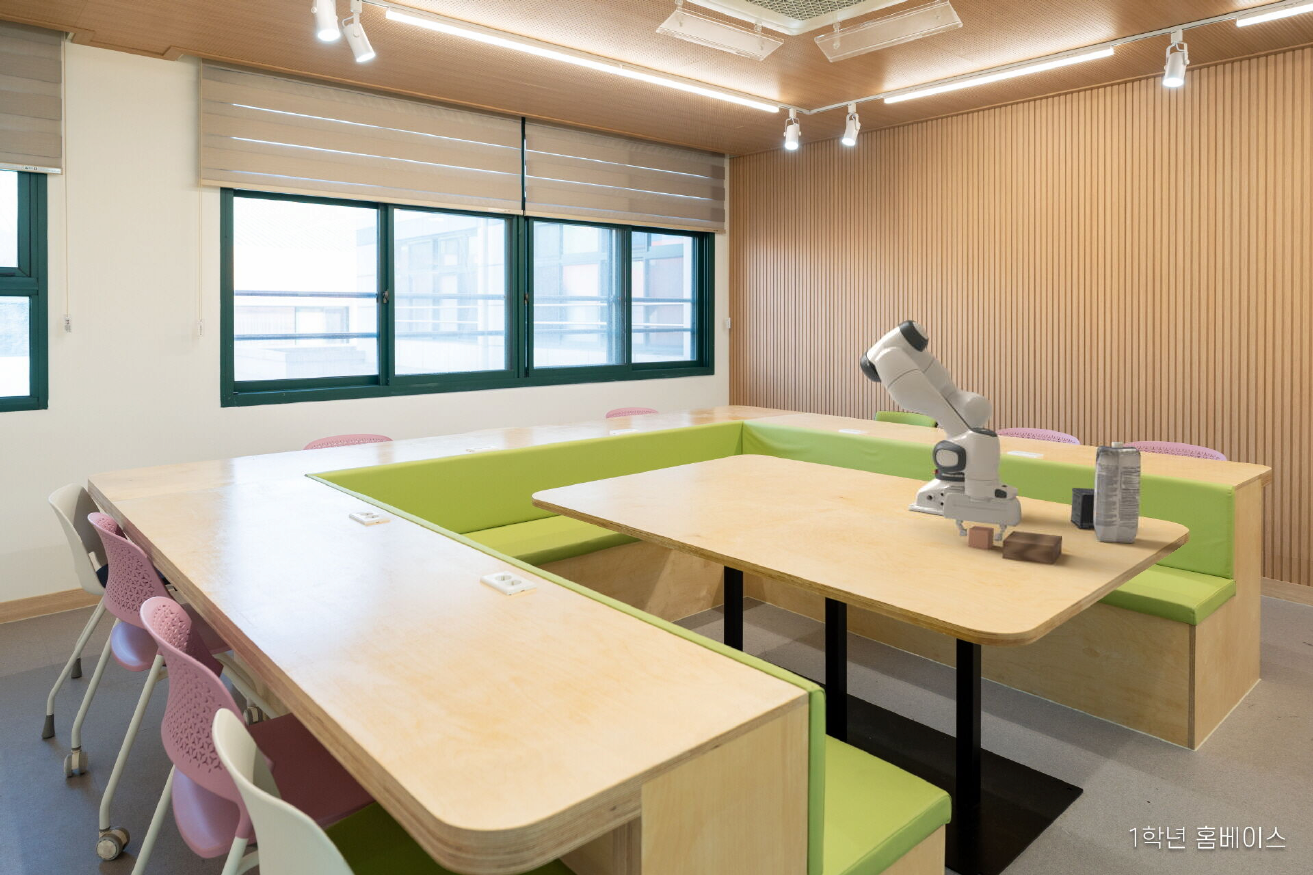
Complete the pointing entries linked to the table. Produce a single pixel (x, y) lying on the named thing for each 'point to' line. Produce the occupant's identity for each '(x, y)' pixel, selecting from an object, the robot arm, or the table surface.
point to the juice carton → (1117, 493)
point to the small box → (1083, 508)
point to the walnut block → (1032, 547)
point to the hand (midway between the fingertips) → (980, 538)
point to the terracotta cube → (981, 537)
